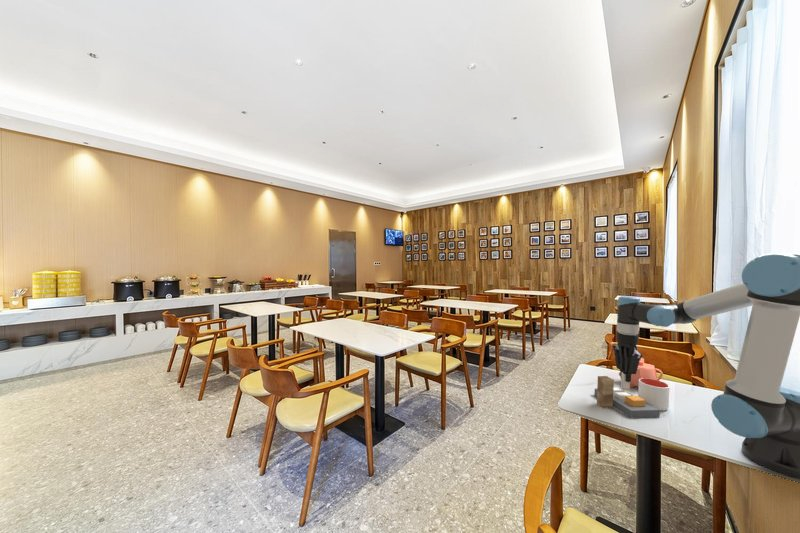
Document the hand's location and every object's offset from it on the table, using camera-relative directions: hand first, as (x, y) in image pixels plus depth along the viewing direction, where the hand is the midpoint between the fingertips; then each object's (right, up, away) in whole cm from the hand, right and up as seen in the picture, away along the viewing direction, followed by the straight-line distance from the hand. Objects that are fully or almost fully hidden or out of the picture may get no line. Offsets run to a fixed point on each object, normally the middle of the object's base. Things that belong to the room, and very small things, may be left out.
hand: (625, 388), depth 129 cm
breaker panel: (0, -8, 0) cm, 8 cm away
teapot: (+22, -8, +20) cm, 31 cm away
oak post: (-9, -7, 0) cm, 12 cm away
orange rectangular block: (0, -5, -5) cm, 7 cm away
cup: (+12, -8, 0) cm, 14 cm away
